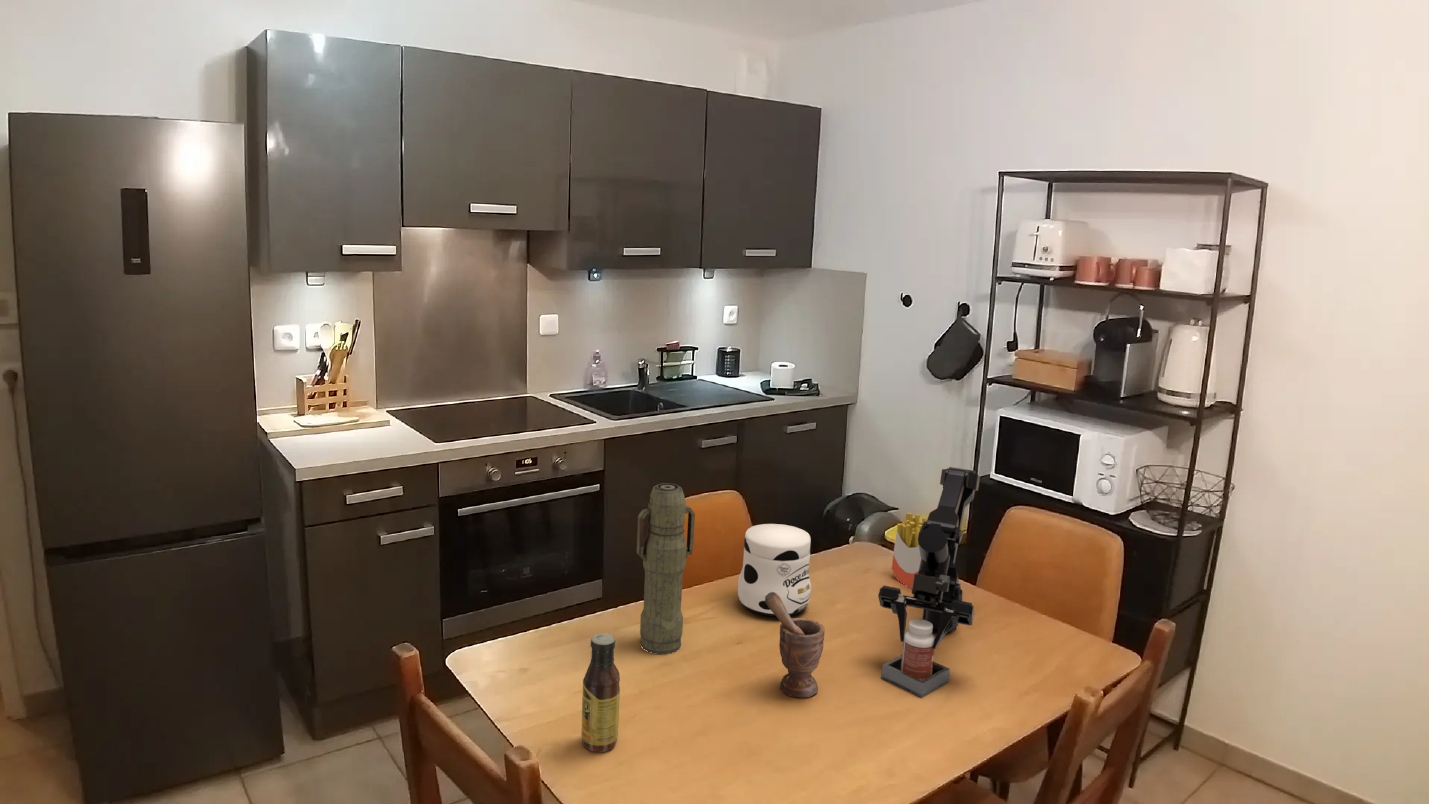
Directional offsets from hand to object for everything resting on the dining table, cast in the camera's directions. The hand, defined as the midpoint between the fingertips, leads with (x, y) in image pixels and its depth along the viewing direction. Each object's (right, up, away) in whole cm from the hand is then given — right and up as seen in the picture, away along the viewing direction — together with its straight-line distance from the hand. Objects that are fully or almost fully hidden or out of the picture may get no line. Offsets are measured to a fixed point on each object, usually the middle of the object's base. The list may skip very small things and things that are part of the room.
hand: (917, 644), depth 180 cm
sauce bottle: (-60, -10, -25) cm, 66 cm away
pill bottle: (0, -7, +3) cm, 7 cm away
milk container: (-27, 0, +34) cm, 44 cm away
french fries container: (+10, +1, +52) cm, 54 cm away
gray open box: (0, -8, +3) cm, 8 cm away
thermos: (-52, -3, +12) cm, 53 cm away
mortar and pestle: (-26, -8, -4) cm, 27 cm away
